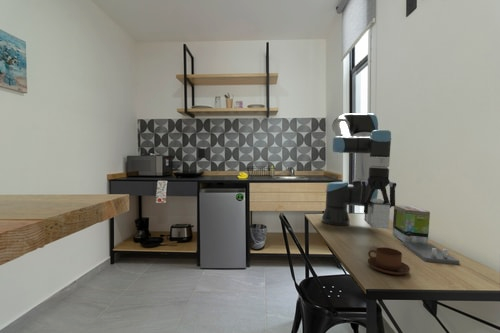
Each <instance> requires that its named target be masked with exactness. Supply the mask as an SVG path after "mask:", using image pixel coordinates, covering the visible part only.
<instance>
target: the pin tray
mask: <svg viewBox="0 0 500 333" xmlns="http://www.w3.org/2000/svg"><path fill="white" fill-rule="evenodd" d="M425 243H426V238H425V237H422V242H421V243H416V237H415V236H412V242H403V241H402V245H403V246H404V247H405V248H407V249H408V250H409V251H411V252H412V253H414V254H415V255H416V256H418V257H419V258H420V259H421V260H423V261H424V262H429V263H442V264H451V265H460V260H458V259H457V258H455V257H453V256H452V255H450V254H449V253H448V252H449V250H448V249H446V248H443V249H440V248H438V247H437V246H435V245H433V244H431V243H428V244H425Z"/></svg>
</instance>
